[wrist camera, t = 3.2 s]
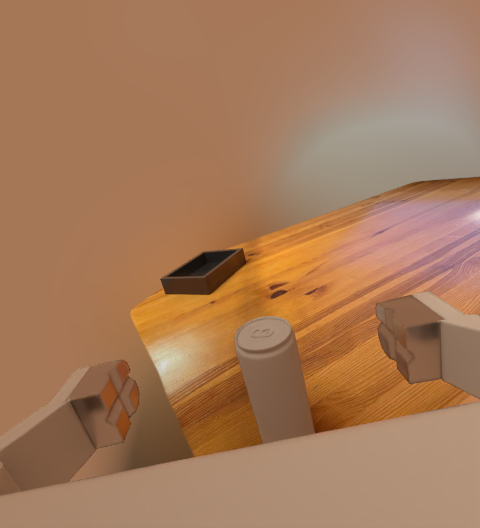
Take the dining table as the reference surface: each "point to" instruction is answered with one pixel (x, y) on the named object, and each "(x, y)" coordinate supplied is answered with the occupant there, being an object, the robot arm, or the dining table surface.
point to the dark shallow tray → (204, 272)
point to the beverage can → (274, 378)
